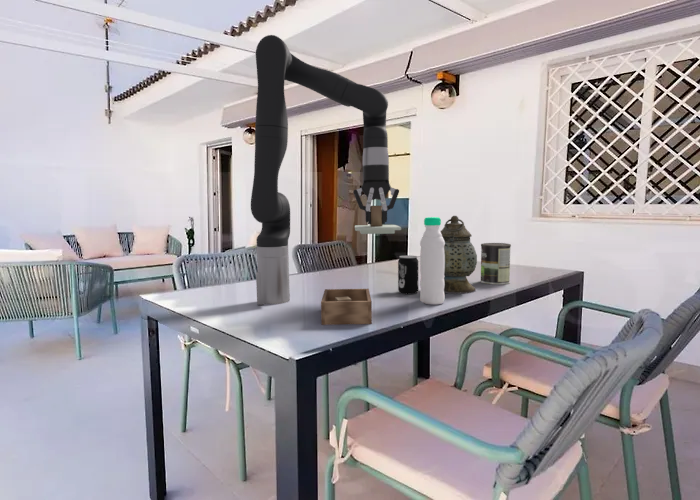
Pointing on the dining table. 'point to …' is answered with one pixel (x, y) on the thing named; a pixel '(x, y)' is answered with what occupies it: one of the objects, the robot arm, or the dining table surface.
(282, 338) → the dining table surface
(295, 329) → the dining table surface
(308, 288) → the dining table surface
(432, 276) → the water bottle
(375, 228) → the lid
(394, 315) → the dining table surface
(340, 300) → the maple cube
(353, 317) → the box
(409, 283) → the beverage can
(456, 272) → the lantern
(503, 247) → the coffee can
